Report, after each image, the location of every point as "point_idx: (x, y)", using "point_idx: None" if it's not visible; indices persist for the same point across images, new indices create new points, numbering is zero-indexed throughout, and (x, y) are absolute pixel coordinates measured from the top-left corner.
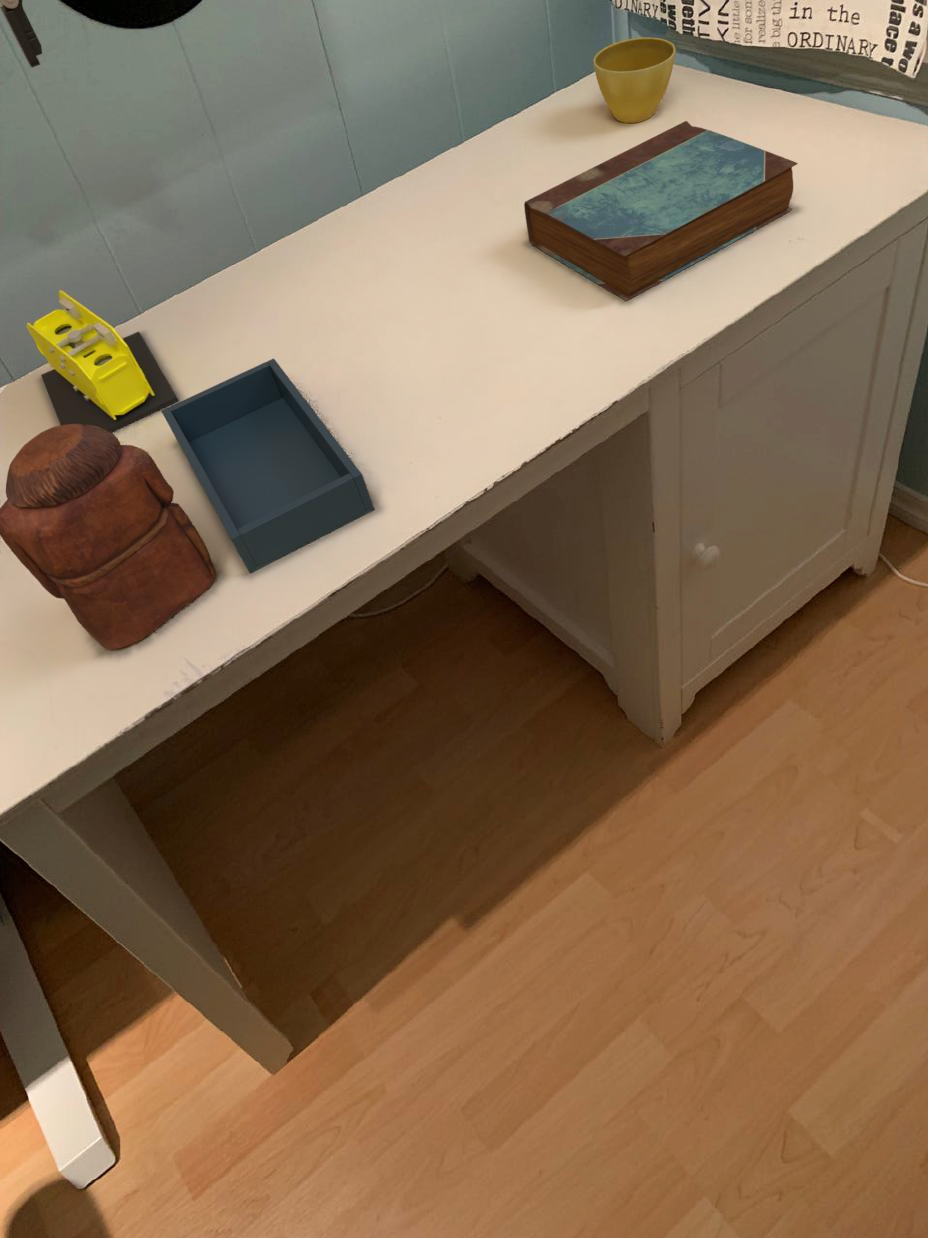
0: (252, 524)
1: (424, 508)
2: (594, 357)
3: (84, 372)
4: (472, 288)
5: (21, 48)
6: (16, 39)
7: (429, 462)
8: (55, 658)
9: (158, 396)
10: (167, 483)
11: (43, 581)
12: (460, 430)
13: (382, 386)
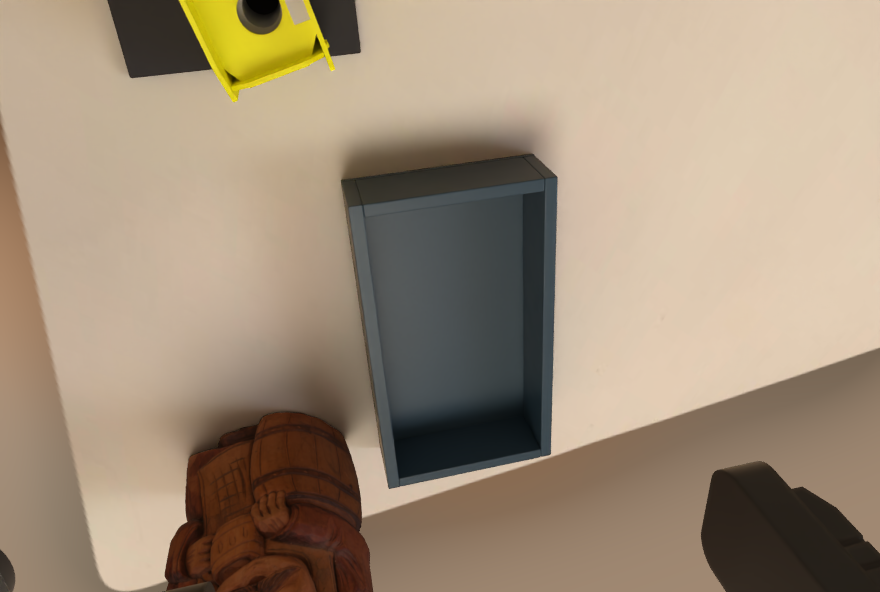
0: (417, 479)
1: (573, 434)
2: (843, 307)
3: (225, 88)
4: (876, 62)
5: (747, 556)
6: (775, 555)
7: (613, 378)
8: (138, 478)
9: (327, 27)
10: (369, 563)
11: None
12: (667, 347)
13: (645, 220)
